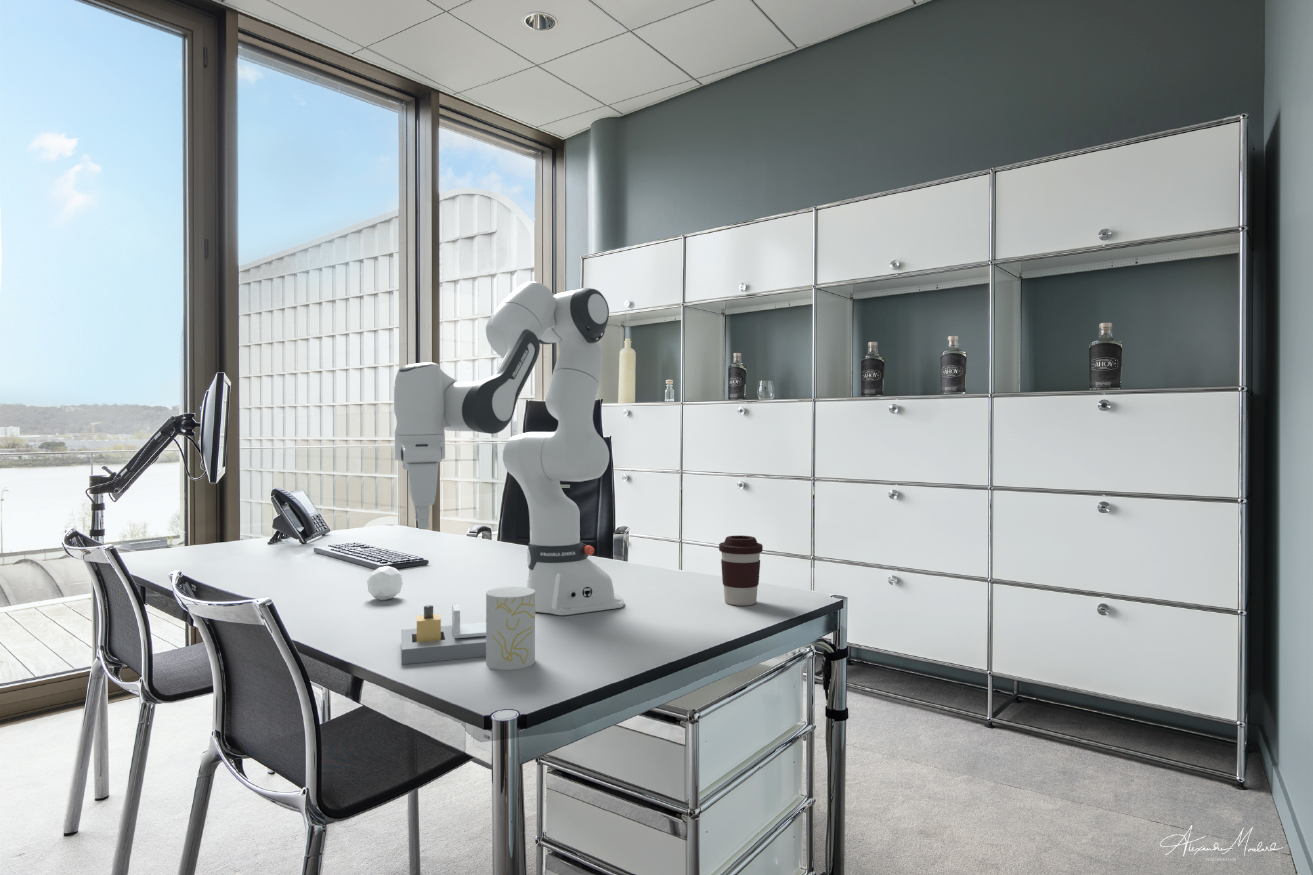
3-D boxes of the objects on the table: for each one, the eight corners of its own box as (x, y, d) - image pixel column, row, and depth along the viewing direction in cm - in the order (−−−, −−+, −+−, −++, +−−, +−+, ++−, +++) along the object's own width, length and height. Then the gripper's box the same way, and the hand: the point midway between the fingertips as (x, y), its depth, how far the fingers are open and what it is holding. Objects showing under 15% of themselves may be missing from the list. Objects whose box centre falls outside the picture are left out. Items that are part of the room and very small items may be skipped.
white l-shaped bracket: (451, 628, 136) (451, 603, 136) (487, 625, 138) (487, 600, 138) (454, 638, 130) (454, 612, 130) (492, 635, 132) (492, 609, 132)
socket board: (401, 643, 136) (401, 629, 136) (484, 635, 141) (484, 622, 141) (401, 664, 124) (401, 649, 124) (492, 655, 129) (492, 641, 129)
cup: (493, 672, 120) (493, 599, 120) (480, 658, 127) (480, 589, 127) (541, 665, 124) (541, 594, 124) (526, 652, 131) (526, 585, 131)
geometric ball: (392, 608, 173) (413, 579, 176) (382, 604, 166) (404, 573, 168) (366, 591, 174) (387, 562, 177) (355, 586, 167) (377, 556, 170)
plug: (416, 648, 133) (416, 604, 133) (439, 646, 134) (439, 603, 134) (416, 655, 129) (416, 609, 129) (440, 653, 130) (440, 608, 130)
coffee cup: (732, 595, 176) (732, 533, 176) (769, 601, 171) (770, 536, 170) (710, 603, 168) (710, 537, 168) (749, 610, 162) (749, 541, 162)
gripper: (400, 448, 145) (402, 517, 146) (403, 453, 126) (405, 534, 127) (434, 447, 147) (435, 516, 148) (442, 452, 128) (443, 531, 129)
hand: (421, 524), depth 137 cm, fingers open, 8 cm apart
